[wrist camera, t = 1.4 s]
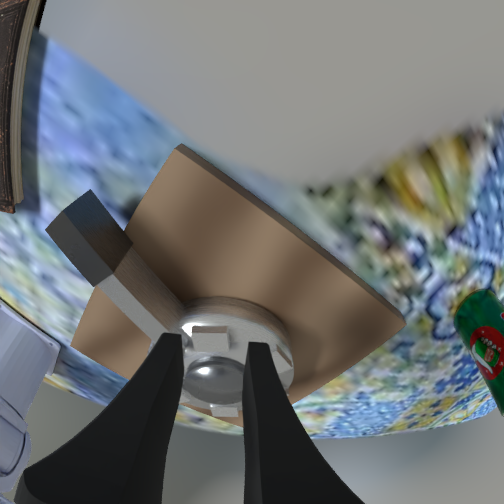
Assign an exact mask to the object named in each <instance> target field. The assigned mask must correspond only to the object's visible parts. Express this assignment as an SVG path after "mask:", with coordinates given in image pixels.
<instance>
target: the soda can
mask: <svg viewBox="0 0 504 504" xmlns="http://www.w3.org/2000/svg"><path fill="white" fill-rule="evenodd" d="M454 328H455V329H456V331H457V333H458V334H459V336H460V338H461V339H462V341H463V343H464V344H465V346H466V348H467V349H468V351H469V353H470V355H471V356H472V358H473V360H474V362H475V364H476V365H477V367H478V369H479V371H480V373H481V375H482V376H483V378H484V380H485V382H486V384H487V386H488V388H489V390H490V392H491V394H492V396H493V398H494V400H495V402H496V404H497V407H498V409H499V411H500V413H501V415H502V416H503V417H504V305H503V304H502V303H501V302H500V300H499V299H498V298H497V297H496V296H495V294H494V293H493V292H492V291H491V290H488V289H481V290H477V291H475V292H473V293H471V294H470V295H469V296H467V297H466V298H465V299H464V300H463V301H462V303H461V304H460V305H459V307H458V309H457V311H456V314H455V318H454Z"/></svg>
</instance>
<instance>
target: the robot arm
mask: <svg viewBox="0 0 504 504" xmlns="http://www.w3.org/2000/svg"><path fill="white" fill-rule="evenodd" d="M60 348H61V346H60V344H59V343H58V342H56V341H55V340H53V339H52V338H50V337H49V336H47V335H46V334H45V333H43V332H42V331H40V330H39V329H38V328H36V327H35V326H33V325H32V324H31V323H29V322H28V321H27V320H25V319H24V318H23V317H21V316H20V315H19V314H18V313H16V312H15V311H14V310H13V309H11V308H10V307H9V306H8V305H6V304H5V303H4V302H3V301H2V300H0V504H14V503H13V502H11V501H9V500H8V499H6V498H5V497H4V496H3V494H1V493H2V492H9V491H11V490H12V488H13V487H14V485H15V483H16V481H17V479H18V477H19V475H20V474H21V473H22V472H23V474H22V476H21V478H20V480H19V483H18V487H17V490H16V494H15V498H14V502H15V503H16V504H161V503H162V502H161V501H162V489H163V479H164V470H165V462H166V454H167V449H168V444H169V440H170V436H171V432H172V428H173V424H174V420H175V417H176V413H177V409H178V405H179V401H180V397H181V391H182V384H183V377H184V359H183V347H182V334H174V333H167V332H164V333H162V334H161V336H160V337H159V339H158V341H157V342H156V344H155V345H154V347H153V348H152V350H151V351H150V353H149V354H148V356H147V357H146V359H145V360H144V362H143V363H142V364H141V366H140V367H139V368H138V370H137V371H136V372H135V374H134V375H133V376H132V378H131V379H130V380H129V381H128V383H127V384H126V385H125V386H124V387H123V389H122V390H121V391H120V392H119V393H118V395H117V396H116V397H115V398H114V399H113V400H112V401H111V402H110V404H109V405H108V406H107V407H106V408H105V409H104V410H103V411H102V412H101V413H100V414H99V415H98V416H97V417H96V418H95V419H94V420H93V421H92V422H90V423H89V424H88V425H87V426H86V427H85V428H84V429H83V430H82V431H80V432H79V433H78V434H77V435H76V436H74V437H73V438H72V439H71V440H69V441H68V442H67V443H65V444H64V445H62V446H61V447H60V448H58V449H57V450H56V451H54V452H53V453H51V454H50V455H49V456H47V457H45V458H43V459H42V460H40V461H39V462H37V463H35V464H33V465H32V466H30V467H28V468H26V469H25V467H26V465H27V463H28V461H29V458H30V454H31V440H30V435H29V433H28V432H27V431H26V429H27V426H28V424H27V423H26V422H25V421H24V419H25V417H26V414H27V412H28V410H29V408H30V406H31V403H32V401H33V399H34V397H35V395H36V393H37V391H38V388H39V386H40V384H41V382H42V380H43V378H44V376H45V374H48V375H50V376H51V375H52V374H53V370H54V367H55V364H56V360H57V357H58V354H59V351H60ZM242 413H243V430H244V445H245V486H244V504H365V503H364V502H363V501H362V500H361V499H360V498H359V497H358V496H356V495H355V494H354V493H353V492H352V491H351V489H350V488H349V487H348V486H347V485H346V484H345V483H344V482H343V481H342V480H341V479H340V477H339V476H338V475H337V474H336V473H335V471H334V470H333V469H332V468H331V467H330V465H329V464H328V463H327V462H326V460H325V459H324V458H323V456H322V455H321V453H320V452H319V451H318V449H317V448H316V447H315V445H314V443H313V442H312V440H311V439H310V437H309V436H308V434H307V432H306V431H305V429H304V427H303V426H302V424H301V422H300V420H299V418H298V417H297V415H296V413H295V411H294V409H293V407H292V405H291V403H290V401H289V399H288V397H287V394H286V392H285V390H284V388H283V385H282V383H281V380H280V378H279V375H278V373H277V370H276V367H275V364H274V361H273V358H272V354H271V351H270V346H269V344H267V343H264V342H250V341H249V342H248V348H247V355H246V361H245V368H244V374H243V389H242ZM24 469H25V470H24Z"/></svg>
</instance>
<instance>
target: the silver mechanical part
mask: <svg viewBox="0 0 504 504" xmlns="http://www.w3.org/2000/svg"><path fill="white" fill-rule="evenodd" d="M45 230H46V232H47V233H48V234H49V236H50V237H51V238H52V239H53V241H54V242H55V243H56V244H57V246H58V247H59V248H60V249H61V250H62V252H63V253H64V254H65V255H66V256H67V258H68V259H69V260H70V261H71V262H72V264H73V265H74V266H75V267H76V268H77V269H78V270H79V272H80V273H81V274H82V275H83V276H84V277H85V278H86V279H87V280H88V282H89V283H90V284H91V285H92V286H93V287H95V286H96V285H97V286H98V287H99V288H100V289H101V290H102V291H103V292H104V293H105V294H106V295H107V296H108V297H109V298H110V299H111V300H112V302H113V303H114V304H115V305H116V306H117V307H118V308H119V309H120V310H121V311H122V312H123V313H124V314H125V315H126V316H127V317H128V318H129V319H130V320H131V321H133V322H134V323H135V324H136V325H137V326H138V327H139V328H140V329H141V330H142V331H143V332H144V333H145V334H146V335H147V336H148V337H149V338H151V339H152V341H151V344H150V347H149V350H148V353H147V356H148V354H149V353H150V351H151V350H152V348H153V347H154V345H155V344H156V342H157V341H158V339H159V337H160V336H161V334H162V333H164V332H167V333H174V334H182V347H183V359H184V377H183V384H182V391H181V397H180V401H179V404H180V403H184V402H185V403H187V404H190V405H193V406H196V407H200V408H204V409H209V410H211V412H212V415H213V416H216V417H238V413H239V411H241V410H242V389H243V374H244V368H245V361H246V355H247V348H248V342H249V341H250V342H264V343H267V344H269V346H270V351H271V354H272V358H273V361H274V364H275V367H276V370H277V373H278V375H279V378H280V380H281V383H282V385H283V388H284V390H285V392H286V394H287V396H288V395H289V386H290V385H291V383H292V381H293V377H294V366H293V357H292V349H291V341H290V337H289V334H288V332H287V330H286V328H285V327H284V325H283V324H282V323H281V321H280V320H279V319H278V318H277V317H275V316H274V315H273V314H272V313H270V312H269V311H267V310H265V309H264V308H262V307H260V306H258V305H256V304H253V303H250V302H247V301H244V300H240V299H236V298H229V297H217V296H212V297H200V298H194V299H191V300H187V301H184V302H182V303H181V302H180V301H179V300H178V299H177V298H176V297H175V295H174V294H173V293H172V292H171V291H170V290H169V289H168V288H167V287H166V286H165V285H164V283H163V282H162V281H161V280H160V279H159V278H158V277H157V276H156V274H155V273H154V272H153V271H152V270H151V269H150V268H149V267H148V265H147V264H146V263H145V262H144V261H143V260H142V258H141V257H140V256H139V255H138V254H137V253H136V251H135V250H134V249H133V248H132V247H131V246H132V245H133V242H132V241H131V240H130V238H129V237H128V236H127V235H126V233H125V232H124V231H123V230H122V229H121V227H120V226H119V225H118V224H117V222H116V221H115V220H114V219H113V217H112V216H111V215H110V214H109V212H108V211H107V210H106V208H105V207H104V206H103V205H102V203H101V202H100V201H99V199H98V198H97V197H96V195H95V194H94V193H93V192H92V190H91V189H90V190H89V191H87V192H86V193H85V194H83V195H82V196H81V197H79V198H78V199H77V200H75V201H74V202H73V203H71V204H70V205H69V206H68V207H66V208H65V209H64V210H63V211H62V212H61V213H60V214H59V215H58V216H57V217H56V218H55V219H54V220H53V221H52V222H51V224H50V225H49V226H48V227H47V228H46V229H45Z"/></svg>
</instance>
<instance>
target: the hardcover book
mask: <svg viewBox="0 0 504 504" xmlns="http://www.w3.org/2000/svg"><path fill="white" fill-rule="evenodd" d="M46 2H47V0H0V211H2V212H7V213H12V214H14V213H15V205H16V203H21V200H23V199H24V197H23V185H22V170H21V113H22V98H23V87H24V78H25V70H26V63H27V57H28V51H29V46H30V40H31V36H32V31H33V27H34V28H36V29H37V30H38V31H39V29H40V24H41V20H42V16H43V12H44V9H45V5H46Z"/></svg>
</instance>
